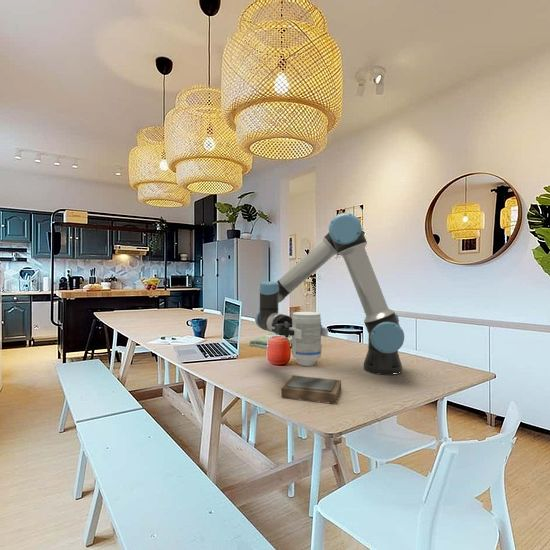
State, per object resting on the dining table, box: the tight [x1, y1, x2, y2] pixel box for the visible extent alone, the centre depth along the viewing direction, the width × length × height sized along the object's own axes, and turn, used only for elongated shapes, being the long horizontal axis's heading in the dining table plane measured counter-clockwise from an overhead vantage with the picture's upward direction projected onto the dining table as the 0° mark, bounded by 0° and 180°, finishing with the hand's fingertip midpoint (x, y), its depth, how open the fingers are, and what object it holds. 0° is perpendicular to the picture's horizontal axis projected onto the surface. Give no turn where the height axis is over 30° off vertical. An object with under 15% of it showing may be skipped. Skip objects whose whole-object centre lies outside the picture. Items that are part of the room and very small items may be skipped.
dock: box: [280, 375, 342, 404], centre depth 121 cm, size 17×15×3 cm
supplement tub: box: [291, 311, 322, 360], centre depth 123 cm, size 10×10×15 cm
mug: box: [295, 344, 323, 367], centre depth 158 cm, size 12×9×11 cm
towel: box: [249, 332, 292, 349], centre depth 198 cm, size 18×21×5 cm
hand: (314, 333), depth 119 cm, fingers closed on supplement tub, 9 cm apart
